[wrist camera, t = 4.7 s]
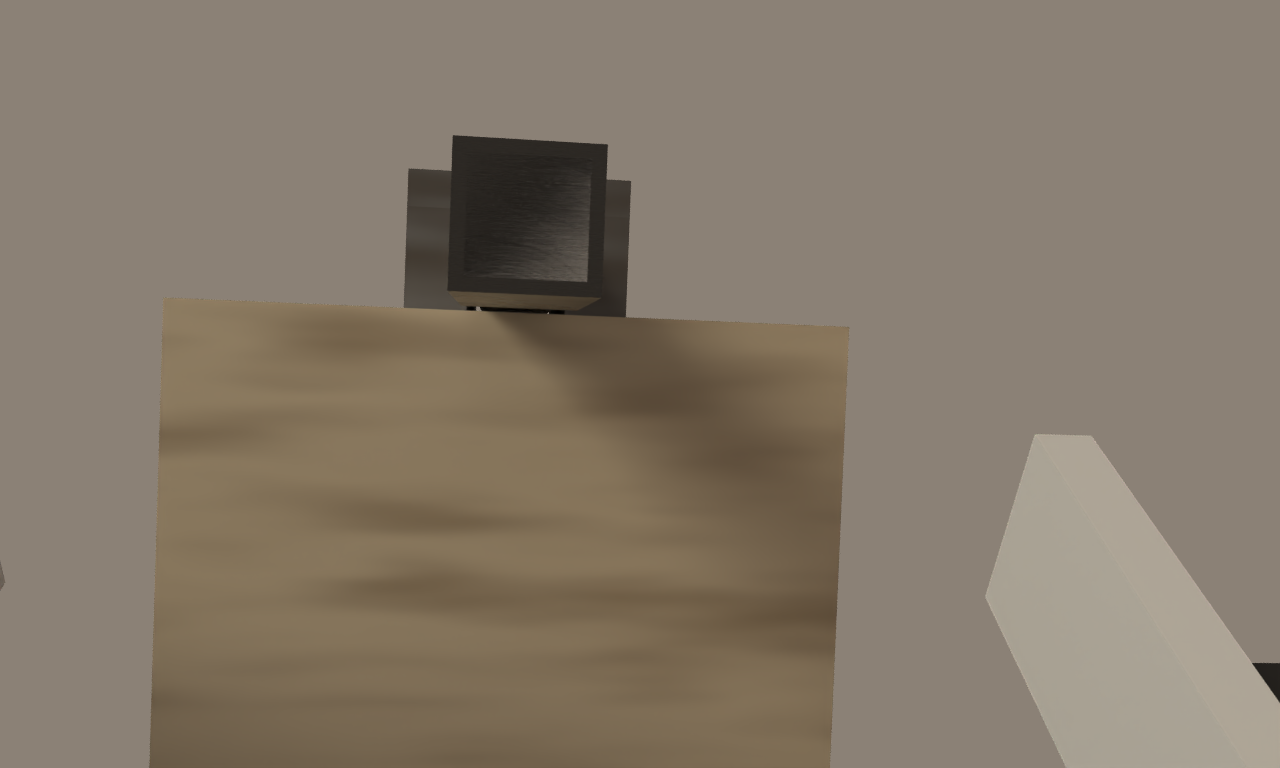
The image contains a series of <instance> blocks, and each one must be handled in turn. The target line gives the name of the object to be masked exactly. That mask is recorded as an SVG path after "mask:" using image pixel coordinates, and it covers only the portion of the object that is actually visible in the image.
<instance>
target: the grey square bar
mask: <svg viewBox="0 0 1280 768" xmlns="http://www.w3.org/2000/svg"><path fill="white" fill-rule="evenodd" d="M452 146H453V147H452V173H451V201H450V229H449V257H448V285H447V291H448V292H449V293H450V294H451V295H452V297H453V298H454V299H455V300H456V301H457V302H458V303H459V304H460V305H461V306H479V307H480V308H481V310H482V311H488V312H511V313H534V314H547V313H548V312H550V311H551V310H572V311H577V310H579V309H581V308H583V307H585V306H587V305H589V304H591V303H593V302H595V301H597V300H599V299H601V298H602V280H603V254H604V228H605V202H606V176H607V175H606V174H607V148H608V145H607V144H590V143H573V142H556V141H538V140H521V139H505V138H488V137H472V136H455V135H453V145H452Z"/></svg>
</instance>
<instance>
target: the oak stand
mask: <svg viewBox="0 0 1280 768" xmlns="http://www.w3.org/2000/svg"><path fill="white" fill-rule="evenodd" d="M451 173H452V171H443V170H425V169H409V173H408V202H407V232H406V260H405V288H404V308H393V307H372V306H371V307H370V306H348V305H325V304H324V305H323V304H302V303H279V302H278V303H276V302H255V301H231V300H208V299H186V298H185V299H183V298H163V331H162V364H161V365H162V366H161V398H160V431H159V464H158V465H159V466H158V498H157V531H156V565H155V598H154V600H155V601H154V632H153V633H154V634H153V665H152V698H151V734H150V766H149V768H830V753H831V752H830V751H831V730H832V707H833V684H834V661H835V639H836V616H837V593H838V592H837V591H838V568H839V546H840V524H841V501H842V478H843V455H844V454H843V453H844V431H845V409H846V386H847V363H848V341H849V327H836V326H813V325H790V324H767V323H765V324H764V323H743V322H720V321H697V320H674V319H651V318H650V319H649V318H627V317H626V295H627V271H628V269H627V268H628V245H629V219H630V194H631V181H621V180H606V202H605V228H604V254H603V280H602V298H601V299H599V300H597V301H595V302H593V303H591V304H589V305H587V306H585V307H583V308H581V309H579V310H577V311H572V310H551V311H550V312H549V314H534V313H511V312H488V311H476V306H461V305H460V304H459V303H458V302H457V301H456V300H455V299H454V298H453V297H452V295H451V294H450V293H449V292H448V291H447V285H448V257H449V229H450V201H451Z"/></svg>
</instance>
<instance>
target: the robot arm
mask: <svg viewBox="0 0 1280 768" xmlns="http://www.w3.org/2000/svg"><path fill="white" fill-rule="evenodd" d="M4 583H5V580H4V575H3V571H2V568H1V563H0V590H1V588H2V587H3V585H4ZM985 598H986V600H987V602H988V604H989V606H990V608H991V610H992V612H993V615H994V617H995V619H996V621H997V623H998V625H999V627H1000V629H1001V631H1002V634H1003V636H1004V638H1005V640H1006V642H1007V644H1008V646H1009V648H1010V650H1011V652H1012V655H1013V657H1014V659H1015V661H1016V663H1017V665H1018V667H1019V669H1020V671H1021V674H1022V676H1023V678H1024V680H1025V682H1026V684H1027V686H1028V688H1029V690H1030V692H1031V695H1032V697H1033V699H1034V701H1035V703H1036V705H1037V707H1038V709H1039V711H1040V714H1041V715H1042V718H1043V720H1044V722H1045V724H1046V726H1047V728H1048V730H1049V732H1050V734H1051V737H1052V739H1053V741H1054V743H1055V745H1056V747H1057V749H1058V751H1059V754H1060V756H1061V758H1062V760H1063V762H1064V764H1065V766H1066V768H1280V663H1251V661H1250V660H1249V659H1248V657H1247V656H1246V655H1245V653H1244V652H1243V650H1242V649H1241V647H1240V646H1239V644H1238V643H1237V642H1236V640H1235V639H1234V637H1233V636H1232V634H1231V633H1230V632H1229V630H1228V629H1227V627H1226V626H1225V625H1224V623H1223V622H1222V620H1221V619H1220V618H1219V616H1218V615H1217V613H1216V612H1215V610H1214V609H1213V608H1212V606H1211V605H1210V603H1209V602H1208V601H1207V599H1206V598H1205V596H1204V595H1203V593H1202V592H1201V591H1200V589H1199V588H1198V586H1197V585H1196V583H1195V582H1194V581H1193V579H1192V578H1191V576H1190V575H1189V574H1188V572H1187V571H1186V569H1185V568H1184V566H1183V565H1182V564H1181V562H1180V561H1179V559H1178V558H1177V557H1176V555H1175V554H1174V552H1173V551H1172V549H1171V548H1170V547H1169V546H1168V544H1167V543H1166V541H1165V540H1164V538H1163V537H1162V535H1161V534H1160V532H1159V531H1158V530H1157V528H1156V527H1155V525H1154V524H1153V523H1152V521H1151V520H1150V518H1149V517H1148V515H1147V514H1146V513H1145V511H1144V510H1143V508H1142V507H1141V505H1140V504H1139V503H1138V501H1137V500H1136V498H1135V497H1134V496H1133V494H1132V493H1131V491H1130V490H1129V488H1128V487H1127V486H1126V484H1125V483H1124V481H1123V480H1122V479H1121V477H1120V476H1119V474H1118V473H1117V472H1116V470H1115V469H1114V467H1113V466H1112V464H1111V463H1110V461H1109V460H1108V459H1107V457H1106V456H1105V455H1104V453H1103V452H1102V450H1101V449H1100V447H1099V446H1098V444H1097V443H1096V442H1095V440H1094V439H1093V437H1092V436H1078V435H1046V434H1045V435H1044V434H1035V436H1034V439H1033V442H1032V446H1031V449H1030V452H1029V455H1028V458H1027V462H1026V465H1025V468H1024V472H1023V475H1022V478H1021V481H1020V485H1019V488H1018V491H1017V495H1016V498H1015V501H1014V505H1013V508H1012V511H1011V514H1010V518H1009V521H1008V524H1007V528H1006V531H1005V534H1004V537H1003V541H1002V544H1001V547H1000V550H999V554H998V557H997V560H996V563H995V567H994V570H993V573H992V576H991V580H990V583H989V586H988V590H987V593H986V596H985Z"/></svg>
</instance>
